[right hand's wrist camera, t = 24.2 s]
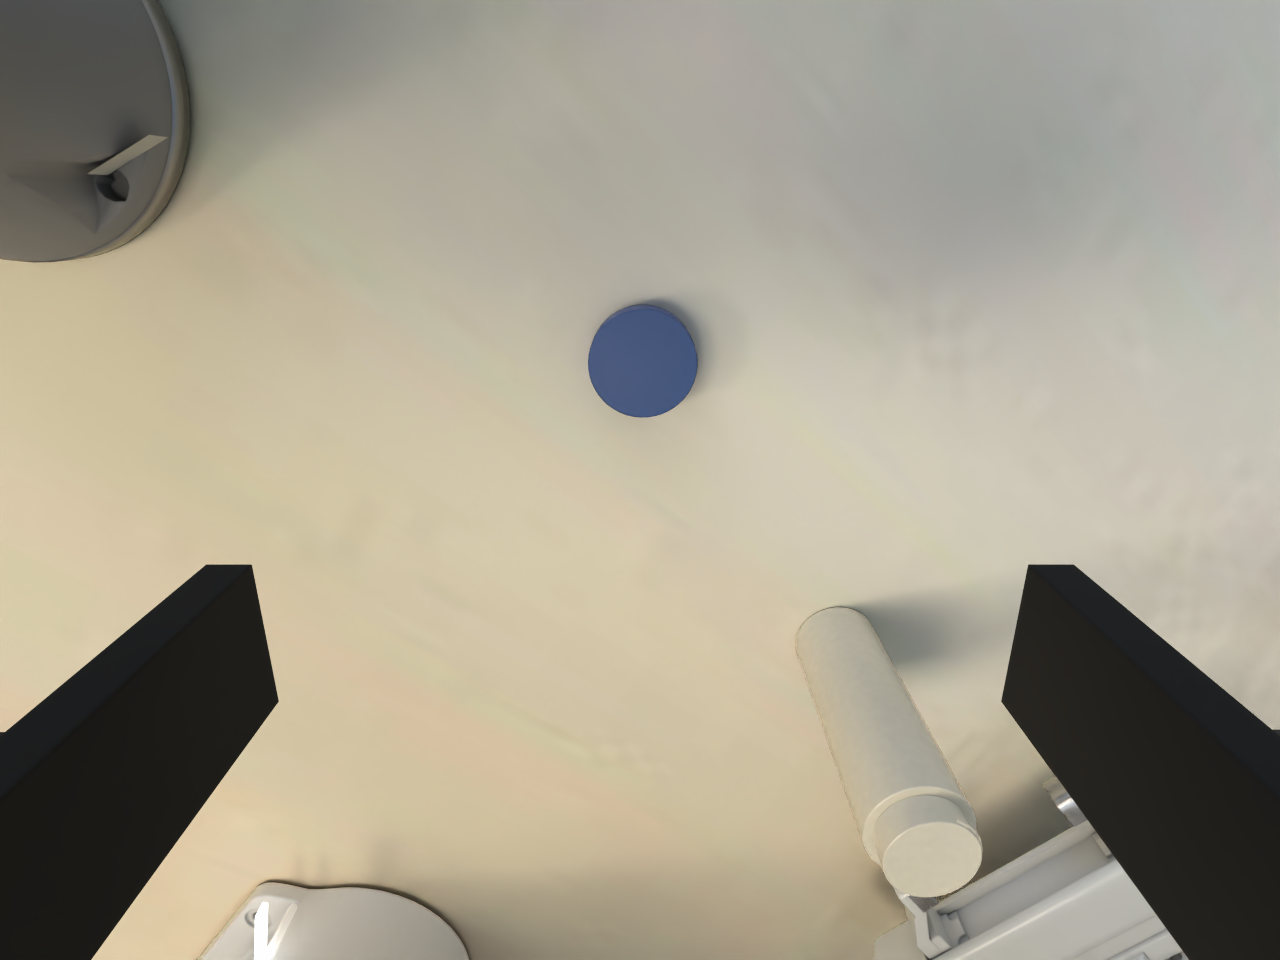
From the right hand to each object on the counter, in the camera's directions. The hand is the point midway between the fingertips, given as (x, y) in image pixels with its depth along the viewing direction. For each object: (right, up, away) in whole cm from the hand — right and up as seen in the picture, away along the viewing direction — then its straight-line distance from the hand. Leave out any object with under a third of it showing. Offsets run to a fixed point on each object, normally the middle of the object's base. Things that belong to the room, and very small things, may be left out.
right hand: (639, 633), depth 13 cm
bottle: (+11, -7, +30) cm, 33 cm away
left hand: (+18, -16, +26) cm, 35 cm away
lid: (0, +8, +23) cm, 25 cm away
